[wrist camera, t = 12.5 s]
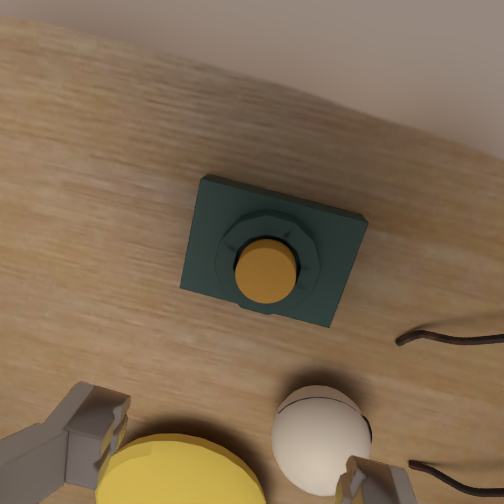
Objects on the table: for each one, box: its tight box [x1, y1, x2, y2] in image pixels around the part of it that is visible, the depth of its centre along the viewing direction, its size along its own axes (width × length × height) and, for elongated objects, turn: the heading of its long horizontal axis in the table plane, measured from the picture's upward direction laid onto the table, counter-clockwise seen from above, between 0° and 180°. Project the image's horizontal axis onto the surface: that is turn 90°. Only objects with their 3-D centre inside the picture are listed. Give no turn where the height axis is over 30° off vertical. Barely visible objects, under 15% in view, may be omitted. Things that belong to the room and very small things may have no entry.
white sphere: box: [271, 385, 372, 496], centre depth 27 cm, size 10×7×7 cm
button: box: [235, 239, 296, 303], centre depth 22 cm, size 4×4×2 cm
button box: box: [180, 174, 368, 328], centre depth 25 cm, size 11×8×4 cm
